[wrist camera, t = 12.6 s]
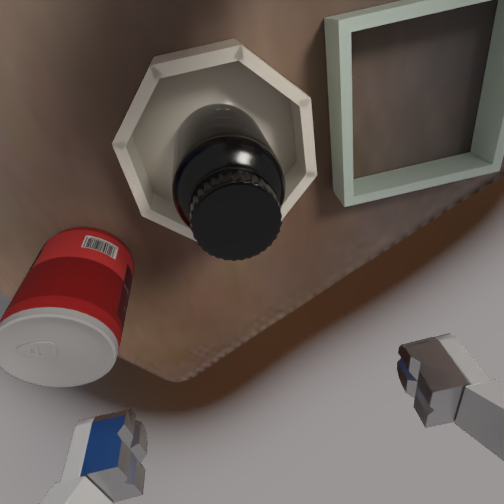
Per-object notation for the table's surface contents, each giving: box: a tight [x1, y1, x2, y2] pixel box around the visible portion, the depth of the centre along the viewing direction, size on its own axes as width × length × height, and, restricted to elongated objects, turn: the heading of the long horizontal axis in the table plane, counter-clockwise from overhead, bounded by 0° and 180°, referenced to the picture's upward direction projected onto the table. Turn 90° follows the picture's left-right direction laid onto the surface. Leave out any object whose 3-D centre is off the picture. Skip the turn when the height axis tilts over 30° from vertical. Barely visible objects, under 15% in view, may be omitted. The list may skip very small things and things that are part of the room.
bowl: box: [112, 38, 317, 241], centre depth 28 cm, size 14×14×4 cm
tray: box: [324, 0, 504, 207], centre depth 28 cm, size 14×14×3 cm
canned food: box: [0, 227, 134, 387], centre depth 29 cm, size 8×8×11 cm
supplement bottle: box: [172, 104, 286, 261], centre depth 23 cm, size 7×7×12 cm
